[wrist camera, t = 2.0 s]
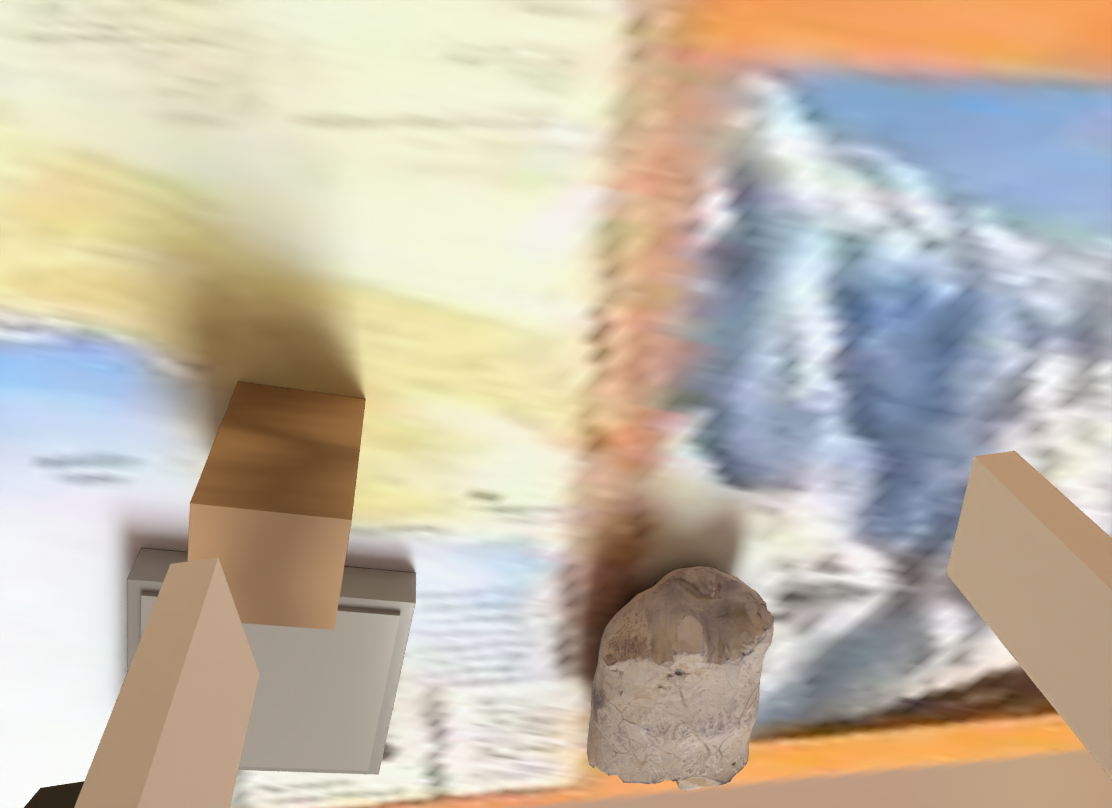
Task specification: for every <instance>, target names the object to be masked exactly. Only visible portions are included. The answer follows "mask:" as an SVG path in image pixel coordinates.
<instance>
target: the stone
mask: <svg viewBox="0 0 1112 808" xmlns="http://www.w3.org/2000/svg"><path fill="white" fill-rule="evenodd" d="M773 622H774V618H773V616H772V615H771V614H770V612H768V611H767V607H766V603H765V602H764V601H763V599H762V598H761V597H760V595H759V594H758V593H757V592H756V591H754V590H753V589H751V588H750V587H749V586H747V585H746V584H745V583H744V582H742V581H741V580H739V579H738V578H736V577H735V576H733V575H730V574H727V573H724V572H722V571H720V570H717V569H715V568H713V567H702V566H696V567H691V568H680V569H676V570H673V571H671V572H670V573H668V574H666V575H664V576H663V578H662V579H661V580H660V581H659V582H658V583H656V584H655V585H654V586H653V587H652V588H649V589H647V590H645V591H644V592H641V593H638V594H637V595H636V596H635V597H634V598H633V599H632V600H631V601H630V602H629V603H627V604H626V605H625V606H624V607H622V609H621V610H620V611H619V612H617V613H616V614H615V615H614V617H613V618H612V619H611V621H610V622H609V623H608V624H607V626H606V627H605V629H604V633H603V636H602V638H601V643H600V649H599V656H598V664H597V668H596V672H595V676H594V680H593V684H592V699H591V716H590V722H589V733H588V742H587V755H588V760H589V765H591V766H592V767H593V768H594V767H595V766H596V767H597V768H598V769H600V770H601V771H603V772H605V773H606V774H607V775H608V776H610V775H618V776H619V777H620V779H621V780H622V781H623V782H625V783H645V784H656V783H660V782H663V781H664V780H669V779H670V780H671V781H676V782H677V785H678V787H679V788H680V789H682V790H684V791H690V790H694V789H698V788H702V787H710V786H719V785H723V784H726V783H728V782H730V781H731V780H732V778H733V777H734V776H735V775H736V774H737V773H738V772H739V771H740V770H741V769H743V767H744V766H745V765H746V764H747V761H748V756H749V740H750V735H751V730H752V727H753V725H754V723H755V720H756V717H757V713H758V707H759V685H760V676H761V670H762V662H763V658H764V655H765V653H766V651H767V649H768V648H769V646H770V644H771V642H772V636H773Z"/></svg>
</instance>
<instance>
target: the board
mask: <svg viewBox="0 0 1112 808" xmlns="http://www.w3.org/2000/svg"><path fill="white" fill-rule="evenodd" d="M182 562H188V552H179V551H168V550H157V549H146V548H141V549H140V552H139V554H138V556H137V558H136V561H135V563H134V565H133V568H132V570H131V572H130V574H129V577H128V579H127V665H128V670H129V668H130V665H131V663H132V660H133V658H134V655H135V652H136V650H137V647H138V645H139V642H140V640H141V637H142V635H143V632H144V630H145V627H146V625H147V622H148V620H149V617H150V614H151V612H152V609H153V607H154V604H155V602H156V599H157V597H158V594H159V592H160V589H161V587H162V584H163V582H164V579H165V577H166V574H167V571H168V569H169V566H170V564H174V563H182ZM415 603H416V573H410V572H399V571H388V570H377V569H366V568H355V567H344V572H343V578H342V584H341V591H340V597H339V603H338V610H337V616H336V622H335V629H334V630H327V629H314V628H300V627H286V626H273V625H259V624H245V623H242V626H243V629H244V632H245V635H246V638H247V641H248V643H249V646H250V649H251V652H252V655H253V658H254V661H255V663H256V666H257V669H258V672H259V677H258V682H257V686H256V691H255V695H254V700H253V704H252V709H251V713H250V718H249V723H248V727H247V732H246V736H245V741H244V745H243V750H242V754H241V759H240V764H239V768H238V770H260V771H290V772H321V773H351V774H379V770H380V765H381V761H382V756H383V752H384V747H385V742H386V738H387V733H388V728H389V724H390V719H391V715H392V710H393V705H394V701H395V696H396V691H397V687H398V682H399V677H400V673H401V668H402V664H403V659H404V654H405V650H406V645H407V640H408V636H409V631H410V626H411V622H412V617H413V613H414V608H415Z"/></svg>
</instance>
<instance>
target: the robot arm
mask: <svg viewBox="0 0 1112 808" xmlns="http://www.w3.org/2000/svg"><path fill="white" fill-rule="evenodd" d="M947 575H948V576H949V577H950V578H951V580H952V581H953V582H954V583H955V585H956V586H957V587H958V588H959V590H960V591H961V592H962V593H963V595H964V596H965V597H966V598H967V600H968V601H969V602H970V603H971V605H972V606H973V607H974V608H975V610H976V611H977V612H978V613H979V615H980V616H981V617H982V618H983V620H984V621H985V622H986V623H987V625H988V626H989V627H990V628H991V630H992V631H993V632H994V633H995V635H996V636H997V637H998V638H999V640H1000V641H1001V642H1002V643H1003V645H1004V646H1005V647H1006V648H1007V650H1008V651H1009V652H1010V653H1011V655H1012V656H1013V657H1014V658H1015V660H1016V661H1017V662H1018V663H1019V665H1020V666H1021V667H1022V668H1023V670H1024V671H1025V672H1026V673H1027V675H1028V676H1029V677H1030V678H1031V680H1032V681H1033V682H1034V683H1035V685H1036V686H1037V687H1038V688H1039V690H1040V691H1041V692H1042V693H1043V695H1044V696H1045V697H1046V698H1047V700H1048V701H1049V702H1050V703H1051V705H1052V706H1053V707H1054V708H1055V710H1056V711H1057V712H1058V713H1059V715H1060V716H1061V717H1062V719H1063V720H1064V721H1065V722H1066V724H1067V725H1068V726H1069V727H1070V729H1071V730H1072V731H1073V732H1074V734H1075V735H1076V736H1077V737H1078V739H1079V740H1080V741H1081V742H1082V744H1083V745H1084V746H1085V747H1086V749H1087V750H1088V751H1089V752H1090V754H1091V755H1092V756H1093V757H1094V759H1095V760H1096V761H1097V762H1098V764H1099V765H1100V766H1101V767H1102V769H1103V770H1104V771H1105V772H1106V773H1107V775H1108V776H1109V777H1110V779H1111V780H1112V538H1111V537H1110V536H1109V535H1108V534H1107V533H1105V532H1104V531H1103V530H1102V529H1101V528H1100V527H1099V526H1098V525H1097V524H1095V523H1094V522H1093V521H1092V520H1091V519H1090V518H1089V517H1088V516H1087V515H1085V514H1084V513H1083V512H1082V511H1081V510H1080V509H1079V508H1078V507H1077V506H1075V505H1074V504H1073V503H1072V502H1071V501H1070V500H1069V499H1068V498H1067V497H1065V496H1064V495H1063V494H1062V493H1061V492H1060V491H1059V490H1058V489H1057V488H1055V487H1054V486H1053V485H1052V484H1051V483H1050V482H1049V481H1048V480H1047V479H1045V478H1044V477H1043V476H1042V475H1041V474H1040V473H1039V472H1038V471H1037V470H1035V469H1034V468H1033V467H1032V466H1031V465H1030V464H1029V463H1028V462H1027V461H1025V460H1024V459H1023V458H1022V457H1021V456H1020V455H1019V454H1018V453H1017V452H1015V451H1011V452H1003V453H996V454H988V455H981V456H974V460H973V464H972V468H971V472H970V476H969V481H968V485H967V489H966V493H965V498H964V502H963V506H962V510H961V515H960V519H959V523H958V527H957V532H956V536H955V540H954V544H953V549H952V553H951V557H950V561H949V566H948V570H947ZM258 677H259V672H258V669H257V666H256V663H255V661H254V658H253V655H252V652H251V649H250V646H249V643H248V641H247V638H246V635H245V632H244V629H243V626H242V623H241V621H240V618H239V615H238V612H237V609H236V606H235V603H234V601H233V598H232V595H231V592H230V589H229V586H228V584H227V581H226V578H225V575H224V572H223V569H222V566H221V564H220V561H219V558H211V559H204V560H197V561H189V562H182V563H174V564H170V566H169V569H168V571H167V574H166V577H165V579H164V582H163V584H162V587H161V589H160V592H159V594H158V597H157V599H156V602H155V604H154V607H153V609H152V612H151V614H150V617H149V620H148V622H147V625H146V627H145V630H144V632H143V635H142V637H141V640H140V642H139V645H138V647H137V650H136V652H135V655H134V658H133V660H132V663H131V665H130V668H129V670H128V673H127V675H126V678H125V680H124V683H123V685H122V688H121V690H120V693H119V696H118V698H117V701H116V703H115V706H114V708H113V711H112V713H111V716H110V718H109V721H108V723H107V726H106V728H105V731H104V733H103V736H102V739H101V741H100V744H99V746H98V749H97V751H96V754H95V756H94V759H93V761H92V764H91V766H90V769H89V771H88V774H87V777H86V779H85V781H83V782H77V783H70V784H64V785H57V786H51V787H44V788H40V789H39V790H38V792H37V793H36V794H35V795H34V796H33V798H32V799H31V800H30V801H29V802H28V803H27V805H26V806H25V807H24V808H230V805H231V800H232V795H233V791H234V786H235V782H236V777H237V773H238V768H239V764H240V759H241V754H242V750H243V745H244V741H245V736H246V732H247V727H248V723H249V718H250V713H251V709H252V704H253V700H254V695H255V691H256V686H257V682H258Z"/></svg>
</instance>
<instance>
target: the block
mask: <svg viewBox="0 0 1112 808" xmlns="http://www.w3.org/2000/svg"><path fill="white" fill-rule="evenodd" d="M365 400H366V399H362V398H355V397H348V396H340V395H333V394H326V393H319V392H312V391H304V390H297V389H290V388H283V387H275V386H268V385H261V384H254V383H247V382H239V381H238V382H237V385H236V387H235V390H234V392H233V395H232V398H231V400H230V403H229V405H228V408H227V410H226V413H225V415H224V418H223V420H222V423H221V426H220V428H219V431H218V433H217V436H216V438H215V441H214V443H213V446H212V449H211V451H210V454H209V456H208V459H207V461H206V464H205V466H204V469H203V471H202V474H201V477H200V479H199V482H198V484H197V487H196V489H195V492H194V494H193V497H192V500H191V502H190V516H189V540H188V562H189V561H197V560H204V559H211V558H219V561H220V564H221V566H222V569H223V572H224V575H225V578H226V581H227V584H228V586H229V589H230V592H231V595H232V598H233V601H234V603H235V606H236V609H237V612H238V615H239V618H240V621H241V623H245V624H259V625H273V626H286V627H300V628H314V629H327V630H334V629H335V622H336V616H337V610H338V603H339V597H340V591H341V584H342V578H343V572H344V565H345V559H346V553H347V546H348V540H349V533H350V527H351V521H352V512H353V504H354V495H355V487H356V478H357V469H358V461H359V452H360V443H361V435H362V426H363V418H364V409H365Z"/></svg>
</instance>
